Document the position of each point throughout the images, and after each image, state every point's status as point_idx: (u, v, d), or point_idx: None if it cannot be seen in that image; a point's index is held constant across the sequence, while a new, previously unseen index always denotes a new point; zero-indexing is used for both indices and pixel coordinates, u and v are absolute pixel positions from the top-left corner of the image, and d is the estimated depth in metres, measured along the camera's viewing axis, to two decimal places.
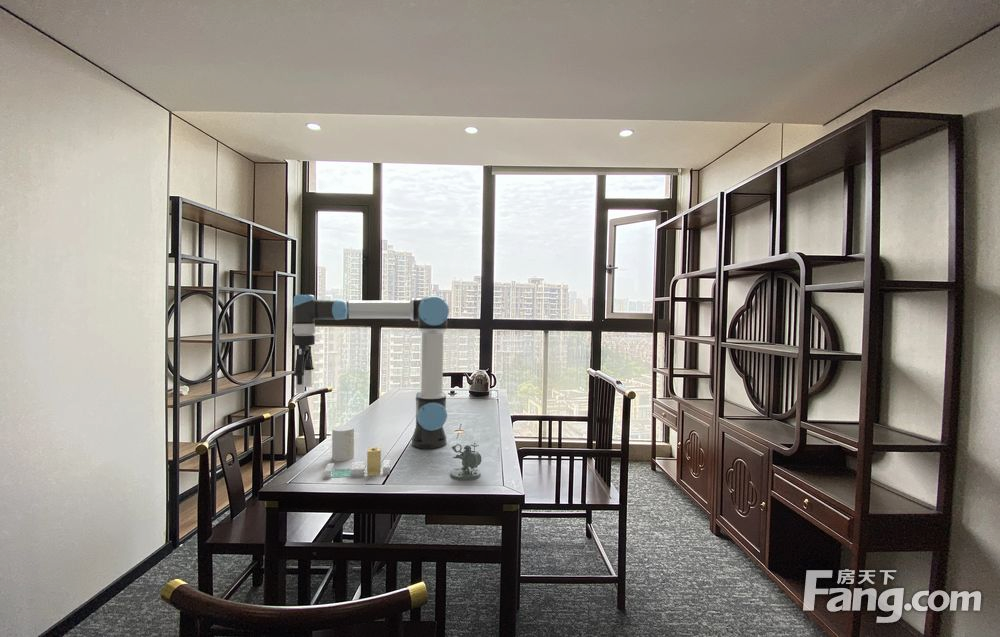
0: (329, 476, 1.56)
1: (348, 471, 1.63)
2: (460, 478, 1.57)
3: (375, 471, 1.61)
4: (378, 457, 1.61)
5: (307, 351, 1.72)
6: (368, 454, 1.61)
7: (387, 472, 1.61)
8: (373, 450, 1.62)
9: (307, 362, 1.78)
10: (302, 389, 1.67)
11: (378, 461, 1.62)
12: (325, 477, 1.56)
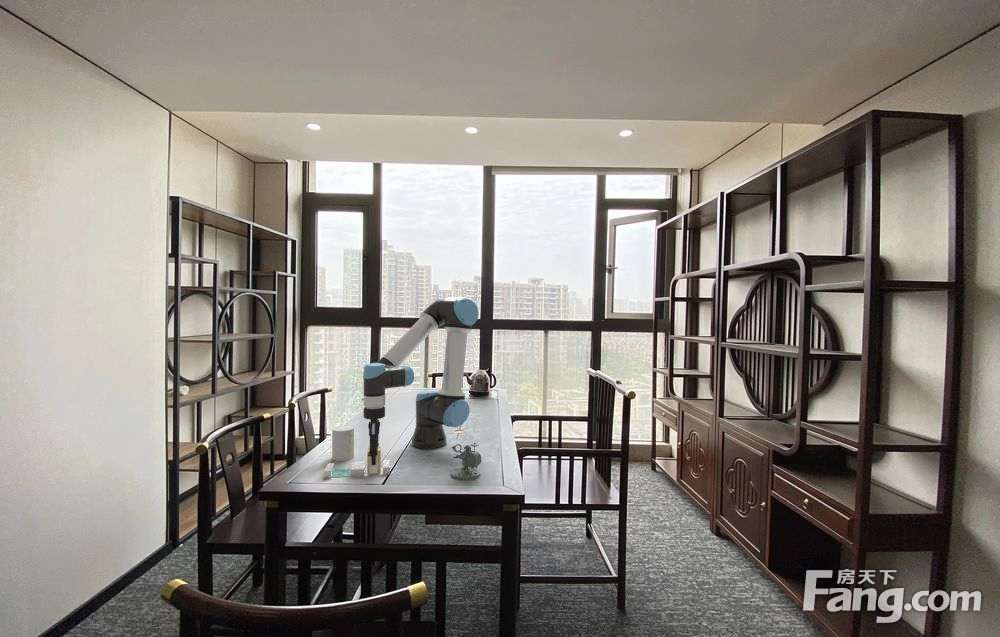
0: (329, 476, 1.56)
1: (348, 471, 1.63)
2: (460, 478, 1.57)
3: None
4: (378, 457, 1.61)
5: (378, 425, 1.62)
6: None
7: (387, 472, 1.61)
8: None
9: None
10: (376, 469, 1.61)
11: (378, 461, 1.62)
12: (325, 477, 1.56)
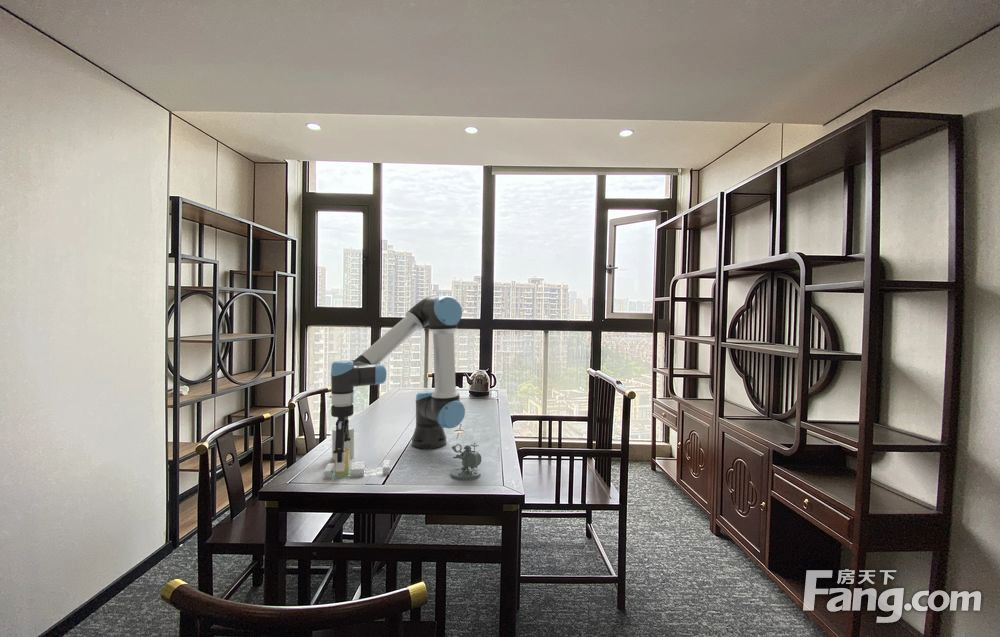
0: (329, 476, 1.56)
1: None
2: (460, 478, 1.57)
3: (343, 473, 1.59)
4: (346, 458, 1.59)
5: (346, 423, 1.59)
6: None
7: (387, 472, 1.61)
8: None
9: None
10: (342, 467, 1.55)
11: (346, 462, 1.59)
12: (325, 477, 1.56)
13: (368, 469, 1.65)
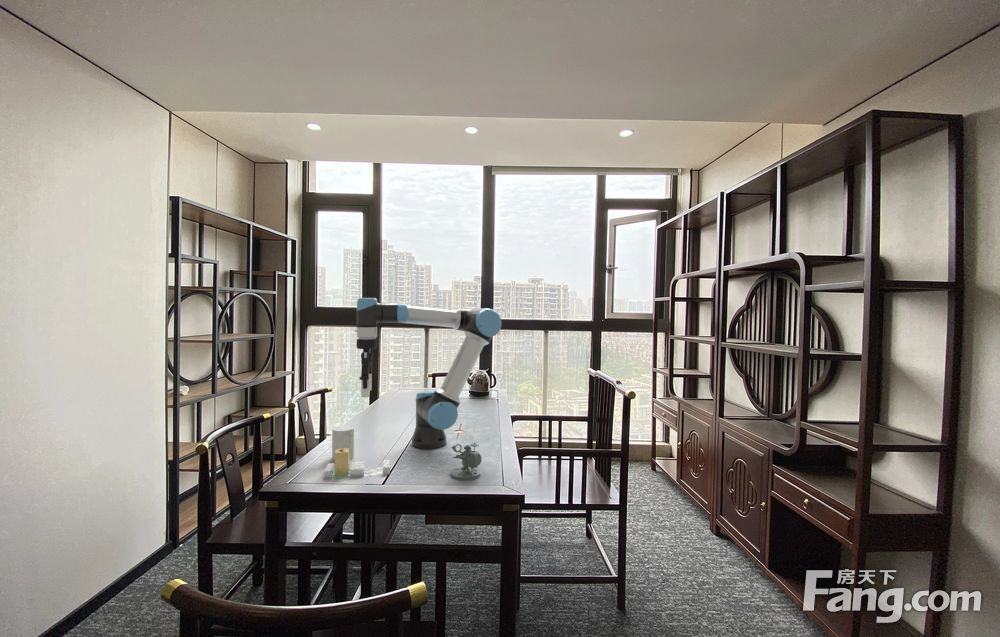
0: (329, 476, 1.56)
1: None
2: (460, 478, 1.57)
3: (343, 473, 1.59)
4: (346, 458, 1.59)
5: (370, 355, 1.71)
6: (336, 455, 1.58)
7: (387, 472, 1.61)
8: (341, 451, 1.60)
9: None
10: (367, 393, 1.66)
11: (346, 462, 1.59)
12: (325, 477, 1.56)
13: (368, 469, 1.65)
